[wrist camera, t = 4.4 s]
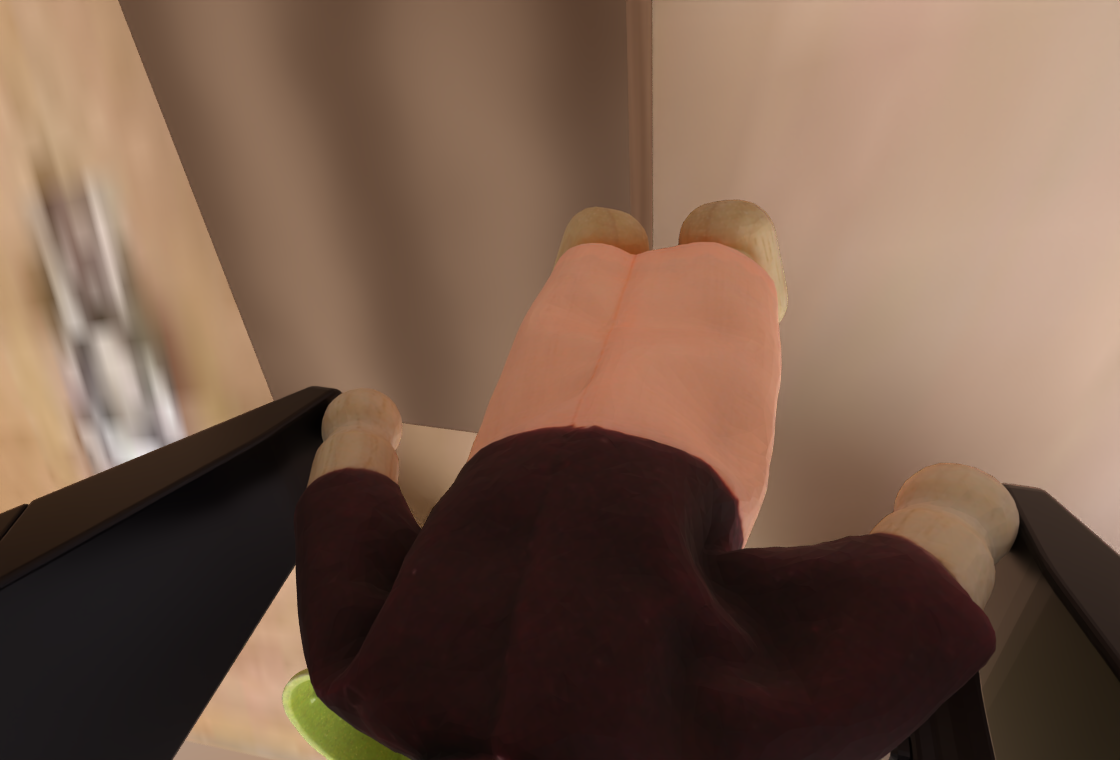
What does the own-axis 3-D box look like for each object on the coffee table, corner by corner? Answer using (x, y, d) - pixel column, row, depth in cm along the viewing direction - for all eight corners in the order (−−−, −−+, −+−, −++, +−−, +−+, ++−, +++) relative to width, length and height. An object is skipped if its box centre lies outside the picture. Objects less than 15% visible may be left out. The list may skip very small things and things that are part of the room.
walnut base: (651, -70, 16) (624, -67, 14) (653, 401, 24) (635, 454, 21) (192, -26, 20) (110, -19, 18) (321, 364, 28) (276, 405, 25)
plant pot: (603, 616, 32) (546, 807, 25) (476, 653, 37) (400, 819, 30) (470, 481, 29) (367, 653, 22) (355, 541, 34) (242, 696, 28)
